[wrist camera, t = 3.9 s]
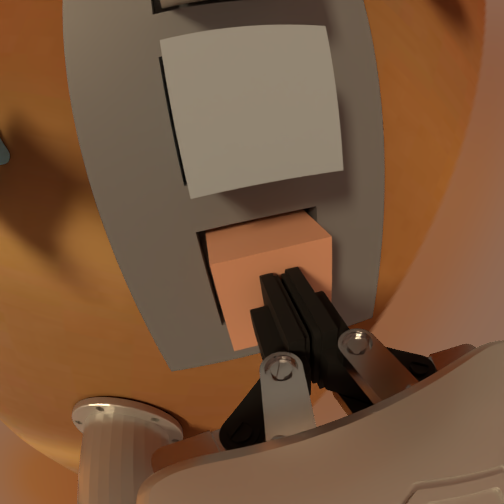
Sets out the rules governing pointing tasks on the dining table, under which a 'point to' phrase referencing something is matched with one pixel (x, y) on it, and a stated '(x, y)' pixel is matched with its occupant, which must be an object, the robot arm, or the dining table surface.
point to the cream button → (175, 2)
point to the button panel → (223, 203)
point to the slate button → (253, 105)
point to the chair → (3, 153)
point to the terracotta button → (264, 263)
